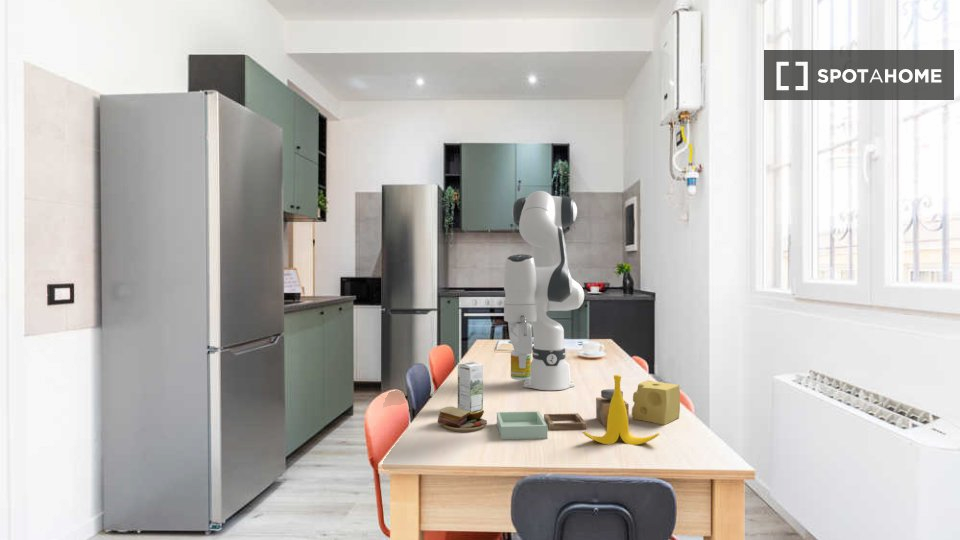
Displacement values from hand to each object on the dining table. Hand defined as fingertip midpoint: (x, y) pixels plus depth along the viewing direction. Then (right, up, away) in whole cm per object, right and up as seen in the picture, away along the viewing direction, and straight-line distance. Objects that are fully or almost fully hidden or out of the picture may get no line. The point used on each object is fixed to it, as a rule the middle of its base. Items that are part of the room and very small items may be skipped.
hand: (520, 365), depth 147 cm
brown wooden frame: (+13, -18, +6) cm, 23 cm away
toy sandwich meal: (-16, -18, +5) cm, 25 cm away
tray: (0, -18, 0) cm, 18 cm away
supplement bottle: (0, -4, 0) cm, 4 cm away
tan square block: (+27, -18, +8) cm, 33 cm away
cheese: (+41, -18, +11) cm, 46 cm away
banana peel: (+26, -18, -9) cm, 33 cm away
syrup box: (-14, -18, +21) cm, 31 cm away
